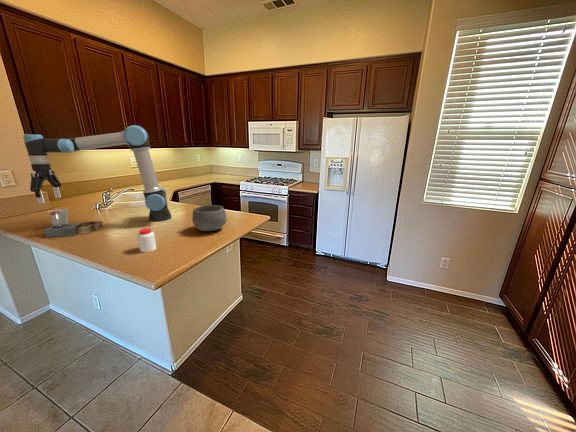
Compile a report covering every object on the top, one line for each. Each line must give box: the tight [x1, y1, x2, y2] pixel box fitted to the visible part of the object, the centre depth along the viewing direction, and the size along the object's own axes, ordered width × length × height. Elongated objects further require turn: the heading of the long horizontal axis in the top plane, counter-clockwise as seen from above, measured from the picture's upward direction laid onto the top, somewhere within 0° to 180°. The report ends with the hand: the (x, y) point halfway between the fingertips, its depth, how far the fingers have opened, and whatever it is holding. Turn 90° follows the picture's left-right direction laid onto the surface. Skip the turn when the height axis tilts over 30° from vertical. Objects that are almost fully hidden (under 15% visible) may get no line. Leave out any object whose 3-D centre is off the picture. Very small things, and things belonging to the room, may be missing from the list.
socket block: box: [44, 222, 83, 238], centre depth 145 cm, size 14×10×5 cm
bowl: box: [191, 204, 228, 232], centre depth 154 cm, size 21×21×15 cm
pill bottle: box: [136, 227, 157, 253], centre depth 125 cm, size 8×8×11 cm
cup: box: [47, 208, 69, 224], centre depth 156 cm, size 10×10×11 cm
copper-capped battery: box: [49, 211, 63, 228], centre depth 143 cm, size 4×4×14 cm
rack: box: [81, 220, 104, 232], centre depth 153 cm, size 10×8×4 cm
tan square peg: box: [76, 225, 93, 235], centre depth 146 cm, size 11×4×4 cm, turn 103°
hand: (50, 200), depth 139 cm, fingers open, 13 cm apart
